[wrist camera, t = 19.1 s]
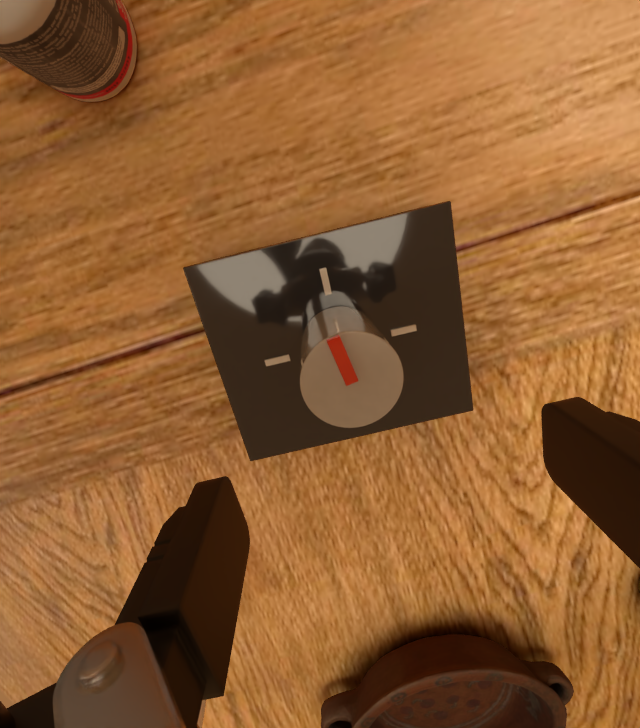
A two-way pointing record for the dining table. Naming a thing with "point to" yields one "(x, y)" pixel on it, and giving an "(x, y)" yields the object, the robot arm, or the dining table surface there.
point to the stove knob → (348, 368)
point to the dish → (453, 689)
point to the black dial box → (326, 290)
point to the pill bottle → (70, 44)
